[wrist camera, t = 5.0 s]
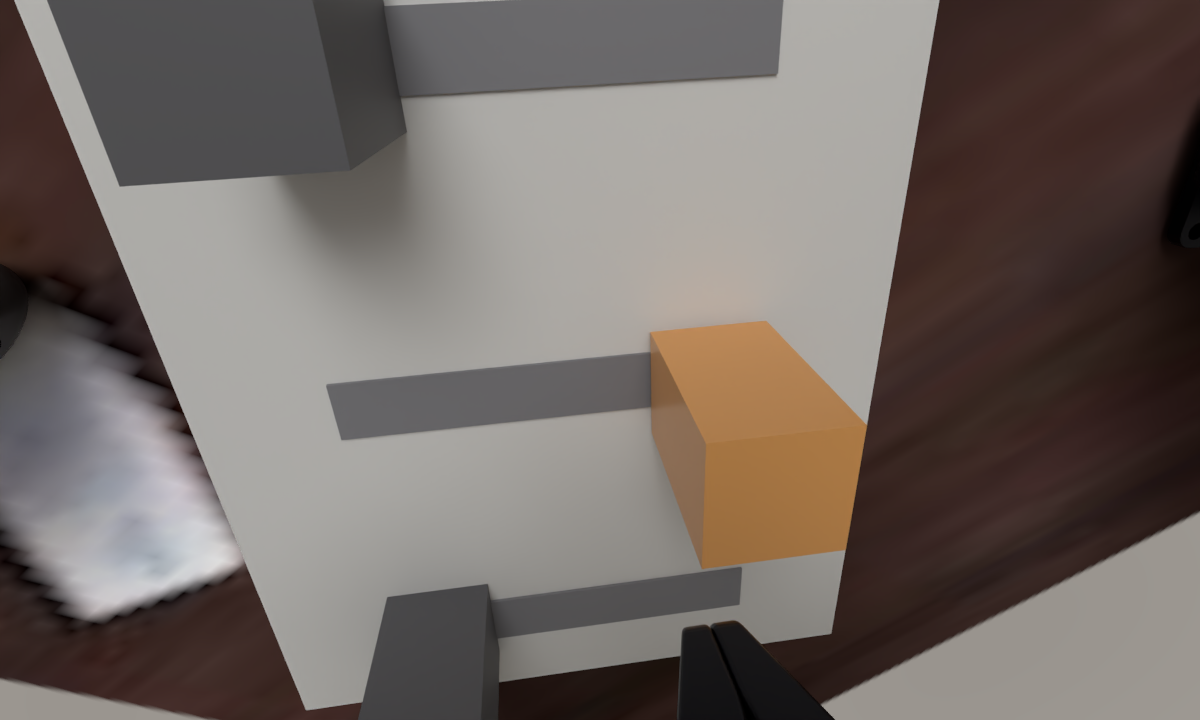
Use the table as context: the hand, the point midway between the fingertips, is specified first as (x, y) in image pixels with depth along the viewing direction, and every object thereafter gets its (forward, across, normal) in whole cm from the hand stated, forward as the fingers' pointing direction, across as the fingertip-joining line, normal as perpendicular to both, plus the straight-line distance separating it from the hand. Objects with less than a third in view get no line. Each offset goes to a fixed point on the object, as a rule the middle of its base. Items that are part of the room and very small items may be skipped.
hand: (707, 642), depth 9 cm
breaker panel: (+10, +2, 0) cm, 10 cm away
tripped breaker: (+8, -2, 0) cm, 8 cm away
